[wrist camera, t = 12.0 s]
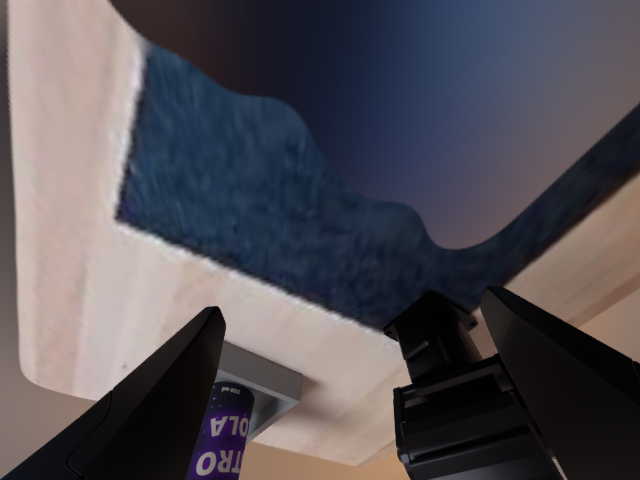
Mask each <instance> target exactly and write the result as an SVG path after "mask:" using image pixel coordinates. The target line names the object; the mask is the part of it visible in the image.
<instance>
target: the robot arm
mask: <svg viewBox="0 0 640 480" xmlns="http://www.w3.org/2000/svg"><path fill="white" fill-rule="evenodd" d="M431 296H433V297H431ZM480 308H481V312H482V315H483V317H484V319H485V322H486V324H487V327H488V329H489V331H490V334H491V336H492V339H493V341H494V343H495V346H496V348H497V350H498V353H497V354H494V356H492V357H489V358H486V359H483V358H482V356H481V355H480V353H479V351H478V349H477V347H476V346H475V344H474V342H473V340H472V338H471V337H470V335H469V333H468V331H470V330H471V329H473V328H474V327H476V326H477V325H478V322H477V320H476V318H474V317H473V316H471V315H470V314H468V313H467V312H465V311H464V310H462V309H461V308H459V307H457V306H456V305H454V304H453V303H451V302H450V301H448V300H447V299H445V298H444V297H442V296H441V295H439V294H438V293H436V292H434V291H429V292H427V293H426V294H425V295H424V296H422V297H421V298H420V299H419V300H417V301H416V302H415V303H414V304H412V305H411V306H410V307H409V308H408V309H406V310H405V311H404V312H403V313H401V314H400V315H399V316H398V317H396V318H395V319H394V320H393V321H391V322H390V323H389V324H388V325H387V326H385V327H384V328H383V331H384V334H385V335H386V336H388V337H390V338H391V339H393V340H395V341H397V342H399V344H400V348H401V352H402V355H403V359H404V360H405V361H406V364H407V368H408V372H409V375H410V379H411V382H412V383H413V384H410V385H407V386H404V387H401V388H400V387H397V388H394V389H393V394H394V399H393V405H394V420H395V435H396V446H397V455H398V458H399V460H400V461H401V462H402V463H403V464H404V466H405V469H406V471H407V473H408V475H409V477H410V479H411V480H564V479H563V477H562V476H561V474H560V472H559V471H558V469H557V467H556V465H555V464H554V462H553V460H552V459H557V461H558V463H559V465H560V467H561V468H562V470H563V472H564V474H565V476H566V477H567V479H568V480H640V363H638V362H636V361H633V360H632V359H631V358H629V357H627V356H626V355H624V354H622V353H620V352H618V351H617V350H615V349H613V348H611V347H609V346H608V345H606V344H604V343H602V342H600V341H599V340H597V339H595V338H593V337H592V336H590V335H588V334H586V333H584V332H583V331H581V330H579V329H577V328H575V327H574V326H572V325H570V324H568V323H566V322H565V321H563V320H561V319H559V318H557V317H556V316H554V315H552V314H550V313H548V312H547V311H545V310H543V309H541V308H539V307H538V306H536V305H534V304H532V303H531V302H529V301H527V300H525V299H523V298H522V297H520V296H518V295H516V294H514V293H513V292H511V291H509V290H507V289H505V288H504V287H502V286H498V285H496V286H487V287H486V288H485V289H484V292H483V296H482V300H481V304H480ZM225 331H226V323H225V320H224V317H223V315H222V312H221V310H220V308H219V307H218V306H212V307H206V308H204V309H203V310H202V311H201V312H200V313H199V314H198V315H196V316H195V317H194V318H193V319H192V320H191V321H189V322H188V323H187V324H186V325H185V326H184V327H183V328H181V329H180V330H179V331H178V332H177V333H176V334H175V335H173V336H172V337H171V338H170V339H169V340H168V341H167V342H165V343H164V344H163V345H162V346H161V347H160V348H159V349H157V350H156V351H155V352H154V353H153V354H152V355H151V356H149V357H148V358H147V359H146V360H145V361H144V362H143V363H141V364H140V365H139V366H138V367H137V368H136V369H135V370H133V371H132V372H131V373H130V374H129V375H128V376H127V377H125V378H124V379H123V380H122V381H121V382H120V383H118V384H117V385H116V386H115V387H114V388H113V390H111V391H109V392H108V393H107V394H106V395H105V396H104V397H102V398H101V399H100V400H99V401H98V402H97V403H96V404H94V405H93V406H92V407H91V408H90V409H88V410H87V411H86V412H85V413H84V414H83V415H81V416H80V417H79V418H78V419H76V420H75V421H74V422H73V423H71V424H70V425H69V426H68V427H66V428H65V429H64V430H63V431H62V432H60V433H59V434H58V435H56V436H55V437H54V438H53V439H51V440H50V441H49V442H47V443H46V444H45V445H44V446H43V447H41V448H40V449H39V450H37V451H36V452H35V453H34V454H32V455H31V456H30V457H28V458H27V459H26V460H25V461H23V462H22V463H21V464H20V465H18V466H17V467H16V468H14V469H13V470H12V471H10V472H9V473H8V474H7V475H5V476H4V477H3V478H1V479H0V480H185V479H186V475H187V472H188V469H189V465H190V462H191V459H192V455H193V452H194V449H195V446H196V442H197V439H198V436H199V432H200V429H201V426H202V422H203V419H204V416H205V412H206V409H207V406H208V402H209V399H210V396H211V392H212V389H213V386H214V382H215V379H216V376H217V372H218V368H219V363H220V357H221V352H222V347H223V341H224V336H225Z"/></svg>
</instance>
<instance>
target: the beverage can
mask: <svg viewBox="0 0 640 480" xmlns="http://www.w3.org/2000/svg"><path fill="white" fill-rule="evenodd" d="M254 401H255V398H254V395H253V393H252V392H251V391H250V389H249V387H248V386H246V385H243V384H241V383H238V382H236V381H233V380H231V379H228V378H223V379H219V380H217V381H215V382H214V386H213V389H212V392H211V396H210V399H209V402H208V406H207V409H206V412H205V416H204V419H203V422H202V426H201V429H200V432H199V436H198V439H197V442H196V446H195V449H194V452H193V455H192V459H191V462H190V465H189V469H188V472H187V475H186V479H185V480H238V479H239V474H240V469H241V464H242V459H243V455H244V449H245V445H246V440H247V435H248V430H249V425H250V420H251V416H252V411H253V406H254Z"/></svg>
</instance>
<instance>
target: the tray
mask: <svg viewBox="0 0 640 480" xmlns="http://www.w3.org/2000/svg"><path fill="white" fill-rule="evenodd" d="M223 378H228V379H231V380H233V381H236V382H238V383H241V384H243V385H246V386H248V387H249V389H250V391H251V392H252V393H253V395H254V398H255V401H254V406H253V411H252V416H251V420H250V425H249V430H248V435H247V440H246V443H247V444H248V443H249V442H250V441H251V440H253V439H254V438H255V437H256V436H258V435H259V434H260V433H262V432H263V431H264V430H265V429H267V428H268V427H269V426H270V425H272V424H273V423H274V422H275V421H277V420H278V419H279V418H280V417H282V416H283V415H284V414H285V413H287V412H288V411H289V410H291V409H292V408H293V407H294V406H296V405H297V404H298V403H299V402H300V400H301V385H302V374H299V373H297V372H295V371H292V370H290V369H288V368H285V367H283V366H281V365H278V364H276V363H274V362H271V361H269V360H267V359H265V358H262V357H260V356H258V355H255V354H253V353H251V352H248V351H246V350H244V349H241V348H239V347H237V346H234V345H232V344H230V343H227V342H225V341H223V347H222V352H221V357H220V363H219V368H218V372H217V376H216V379H215V381H217V380H219V379H223Z"/></svg>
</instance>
